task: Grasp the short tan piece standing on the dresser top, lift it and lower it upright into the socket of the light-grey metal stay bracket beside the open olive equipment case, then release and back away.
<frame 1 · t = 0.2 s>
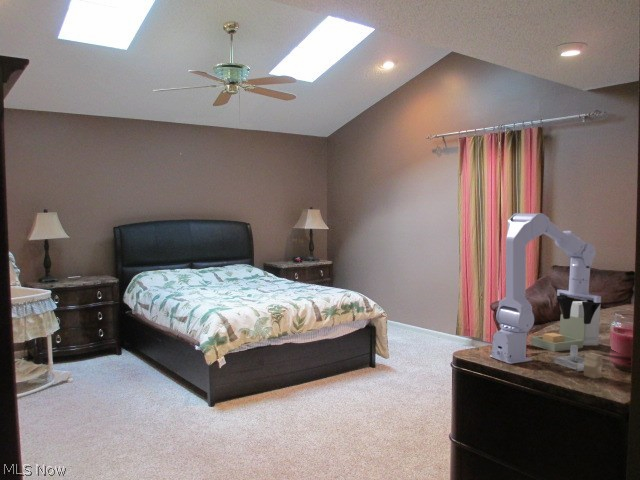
hand: (576, 321, 160), 10 cm above the table, tool pointing down, fingers open, 7 cm apart
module: (552, 346, 164), resting on case
tan piece: (592, 376, 134), on the table
case: (556, 347, 165), on the table
skincare box: (581, 345, 171), on the table
bracket: (575, 366, 143), on the table
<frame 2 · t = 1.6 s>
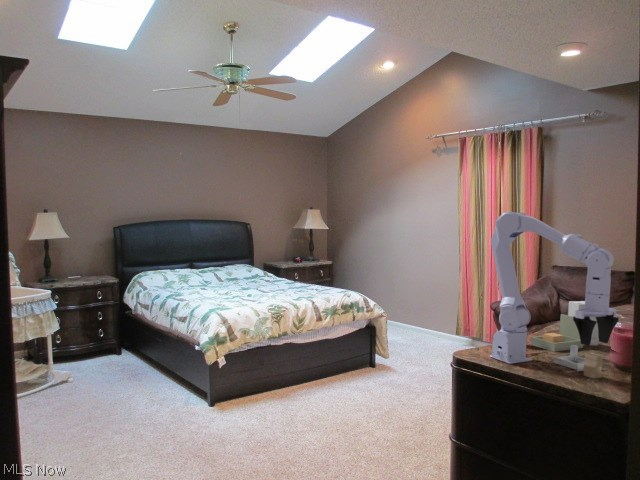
hand: (594, 343, 134), 9 cm above the table, tool pointing down, fingers open, 7 cm apart
nothing on the table moved.
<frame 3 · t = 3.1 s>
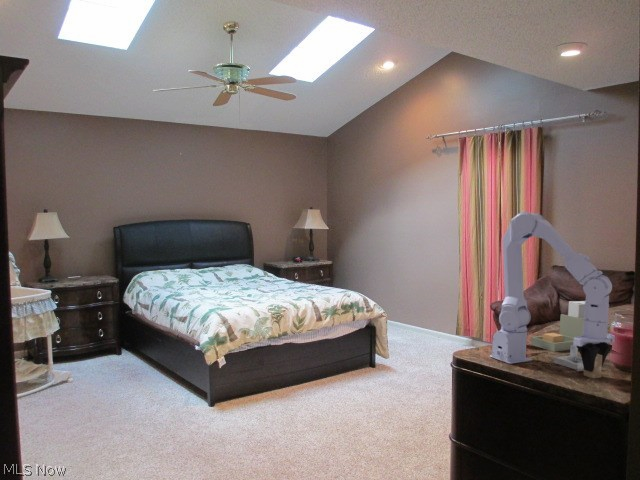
hand: (592, 370, 134), 2 cm above the table, tool pointing down, fingers closed on tan piece, 3 cm apart
tan piece: (592, 376, 134), on the table, touching gripper
everything else where it was.
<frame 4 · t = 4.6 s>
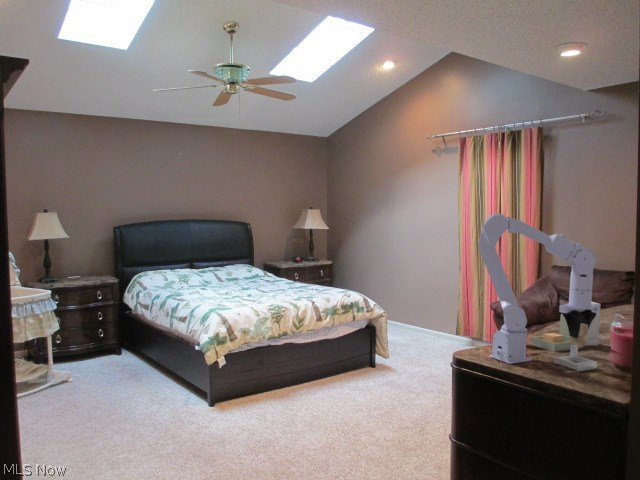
hand: (577, 336, 142), 9 cm above the table, tool pointing down, fingers closed on tan piece, 3 cm apart
tan piece: (578, 344, 142), point 7 cm above the table, touching gripper
everything else where it was.
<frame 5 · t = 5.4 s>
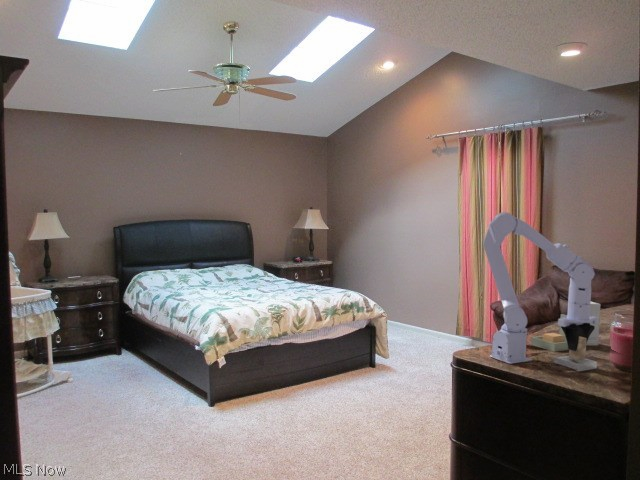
hand: (576, 349, 143), 5 cm above the table, tool pointing down, fingers closed on tan piece, 3 cm apart
tan piece: (577, 357, 143), point 3 cm above the table, touching gripper
everything else where it was.
when the fingers open (3 cm above the table, at t = 6.1 s): tan piece stays where it is, resting on bracket.
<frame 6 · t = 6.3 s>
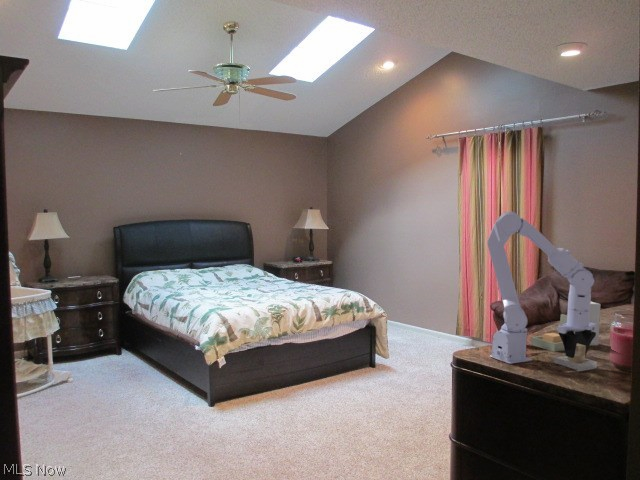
hand: (575, 356, 143), 3 cm above the table, tool pointing down, fingers open, 5 cm apart
tan piece: (576, 365, 143), resting on bracket
everything else where it was.
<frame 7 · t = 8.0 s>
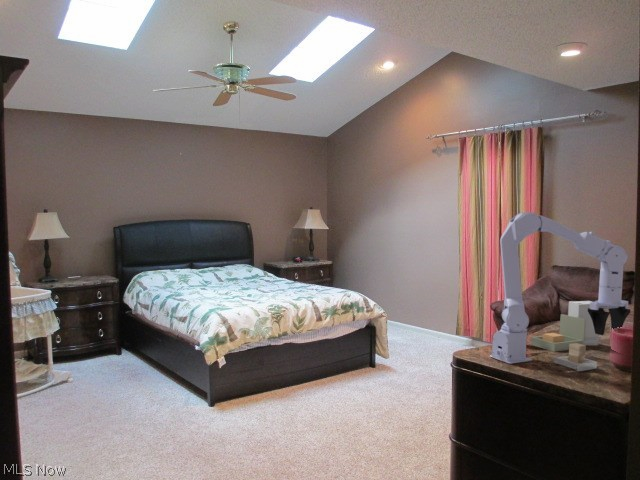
hand: (607, 333, 143), 10 cm above the table, tool pointing down, fingers open, 7 cm apart
nothing on the table moved.
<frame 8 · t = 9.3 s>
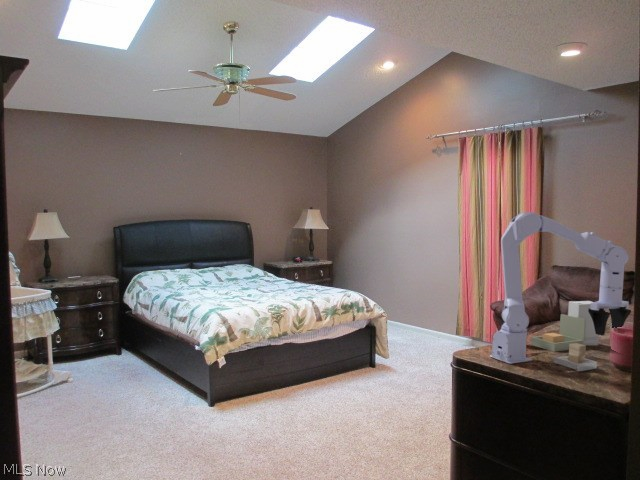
hand: (608, 333, 143), 10 cm above the table, tool pointing down, fingers open, 7 cm apart
nothing on the table moved.
at the end: tan piece 0.3 cm off-centre on the bracket, point 0.4 cm above the bracket's base; tan piece tilted 0°; the gripper is holding nothing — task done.
